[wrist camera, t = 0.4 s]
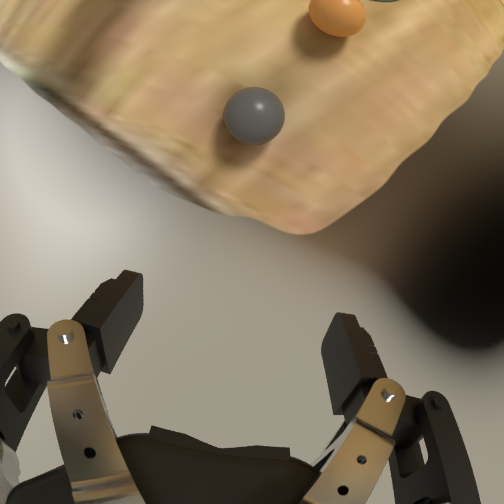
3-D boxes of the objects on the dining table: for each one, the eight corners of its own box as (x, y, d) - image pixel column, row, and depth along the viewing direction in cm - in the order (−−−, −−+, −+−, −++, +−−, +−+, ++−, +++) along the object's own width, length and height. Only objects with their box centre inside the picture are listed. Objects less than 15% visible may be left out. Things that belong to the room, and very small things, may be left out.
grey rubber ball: (228, 88, 24) (222, 82, 19) (283, 92, 24) (290, 87, 19) (225, 140, 26) (218, 146, 22) (279, 143, 27) (284, 150, 22)
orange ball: (305, -5, 18) (315, -26, 13) (355, 6, 18) (374, -10, 14) (303, 36, 21) (313, 21, 16) (354, 47, 21) (374, 35, 16)
